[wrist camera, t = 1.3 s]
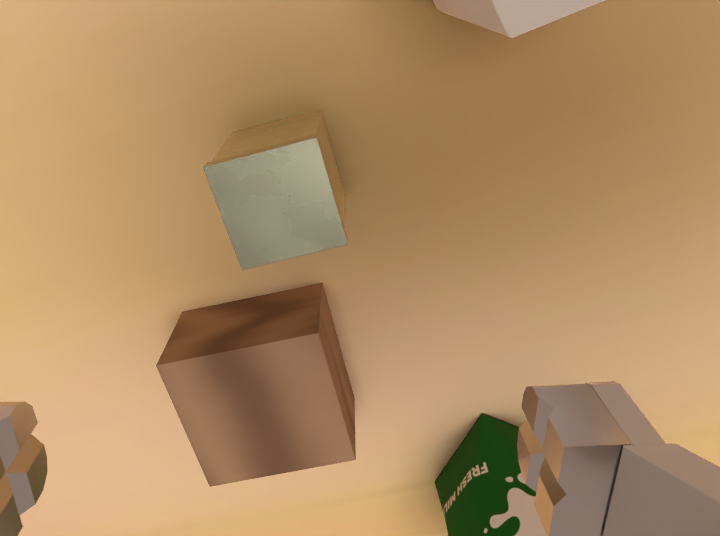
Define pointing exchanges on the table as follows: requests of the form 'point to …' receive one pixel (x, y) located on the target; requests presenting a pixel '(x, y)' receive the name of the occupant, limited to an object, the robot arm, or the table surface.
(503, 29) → the milk carton
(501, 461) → the soya milk
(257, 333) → the walnut block
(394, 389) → the table surface
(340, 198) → the grey wooden block
